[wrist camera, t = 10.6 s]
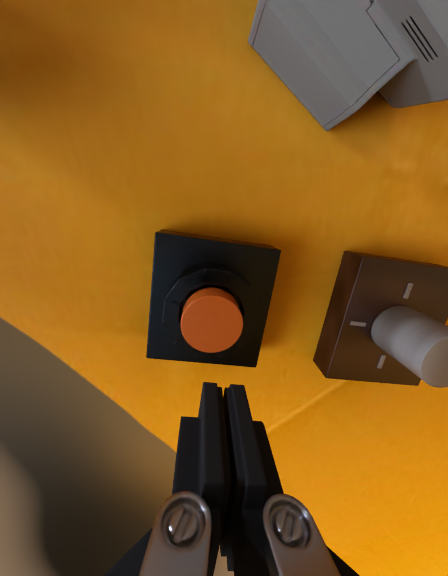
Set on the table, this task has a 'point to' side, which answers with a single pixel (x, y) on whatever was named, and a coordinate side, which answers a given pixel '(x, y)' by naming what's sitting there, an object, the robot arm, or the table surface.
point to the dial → (414, 342)
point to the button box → (204, 274)
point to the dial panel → (375, 314)
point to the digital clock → (355, 52)
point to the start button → (211, 320)
